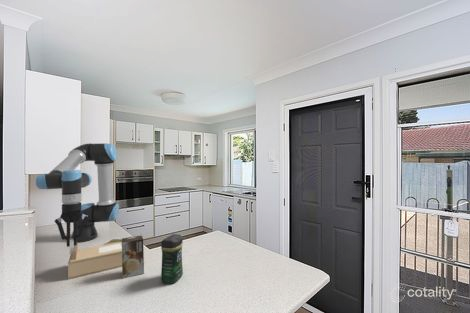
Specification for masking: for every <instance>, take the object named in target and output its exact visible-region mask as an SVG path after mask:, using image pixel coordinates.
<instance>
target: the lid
mask: <svg viewBox="0 0 470 313" xmlns="http://www.w3.org/2000/svg"><path fill="white" fill-rule="evenodd" d="M78 243H79V242H77V245H75V246H74V248H73V254H72V256H71V260H70V263H72V262H77V261H82V260H87V259H92V258H96V257H101V256H106V255H111V254H116V253H120V252H122V242H117V243H112V244H106V245H103V244H102V245H97V246H92V247H91V246H90V247H85V248H81V249H78V247H79V246H78V245H79V244H78Z"/></svg>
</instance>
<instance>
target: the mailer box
mask: <svg viewBox="0 0 470 313" xmlns="http://www.w3.org/2000/svg"><path fill="white" fill-rule="evenodd" d="M69 255H70V256H69V260H68V263H67V280H68V281H69V280H72V279H77V278H80V277H85V276H89V275H94V274H97V273H102V272H105V271H111V270H115V269H118V268H122V252H120V253H116V254H111V255H106V256H101V257H96V258H92V259H87V260H82V261H77V262H72V263H70V260H71V256H72V254H69Z"/></svg>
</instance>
